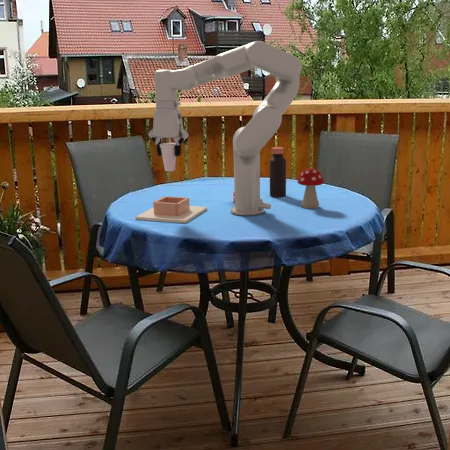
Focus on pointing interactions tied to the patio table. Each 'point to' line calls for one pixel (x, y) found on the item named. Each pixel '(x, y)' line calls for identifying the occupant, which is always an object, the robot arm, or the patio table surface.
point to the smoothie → (168, 155)
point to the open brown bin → (172, 210)
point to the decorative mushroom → (310, 187)
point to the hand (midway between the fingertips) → (169, 155)
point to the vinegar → (277, 173)
